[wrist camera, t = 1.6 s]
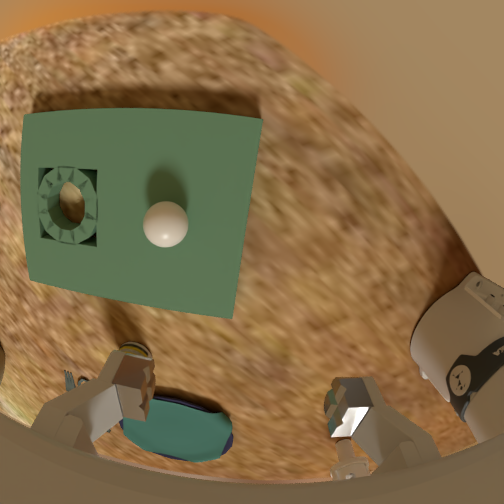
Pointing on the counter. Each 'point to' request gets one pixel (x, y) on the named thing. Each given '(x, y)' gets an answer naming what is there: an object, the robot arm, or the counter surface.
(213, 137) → the putting board
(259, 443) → the counter surface
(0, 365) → the flower pot
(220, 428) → the cutlery set
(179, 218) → the golf ball
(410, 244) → the counter surface
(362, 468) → the white tall piece
